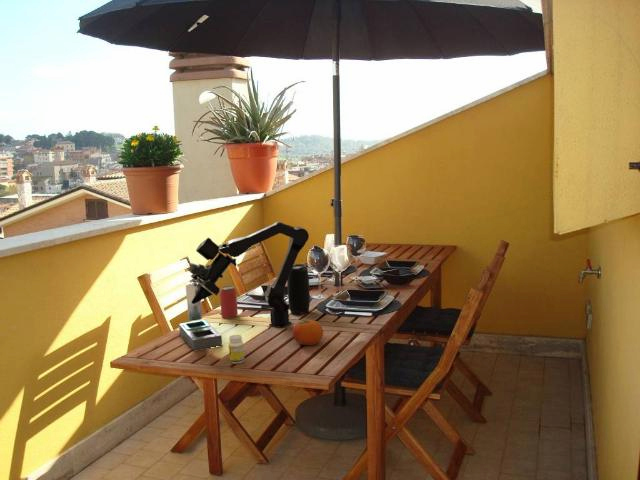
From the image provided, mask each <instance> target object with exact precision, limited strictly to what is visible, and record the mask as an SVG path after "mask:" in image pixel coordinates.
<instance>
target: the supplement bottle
mask: <svg viewBox="0 0 640 480" xmlns="http://www.w3.org/2000/svg"><path fill="white" fill-rule="evenodd" d="M228 341H229V343H228V355H229V362H230V363H231V362H232V363H231V364H241V363H244V362H245V348H244V341H243V337H242V335H241V334H231V335H229V337H228Z"/></svg>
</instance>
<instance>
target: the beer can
mask: <svg viewBox="0 0 640 480" xmlns="http://www.w3.org/2000/svg"><path fill="white" fill-rule="evenodd" d="M237 297H238V296H237V290H236V288H235V286H232V285H226V286H222V287H221V288H220V292H219V298H220V299H219V301H220V302H219V303H220V312H221V313H220V315H221V317H222V318H224V319H232V318H235V317H237V316H238V314H239V313H238V300H237V299H238V298H237Z"/></svg>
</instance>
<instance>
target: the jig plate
mask: <svg viewBox="0 0 640 480" xmlns="http://www.w3.org/2000/svg"><path fill="white" fill-rule="evenodd" d="M178 326H179V327H178V329H179V335H180V336H181V338H182V339H183V340H184V341H185V343H187V345H188V344H189V345H190V346H191V347H192V348H191V347H190V346H189V347H190V348H191V350H192V351H193V350H199V351H202V350H201V349H204V350H207V349H206V348H210V349H212V348H211V347H215V348H217V347H216V346H221V347H223V339H222V334H221V333H220V332H219V331H218V330H217V329H216V328H215V327H214V326H212V325H211V323H210V322H208V321H207V320H206V319H200V320H192V321H188V322H181V323H179V324H178Z"/></svg>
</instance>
